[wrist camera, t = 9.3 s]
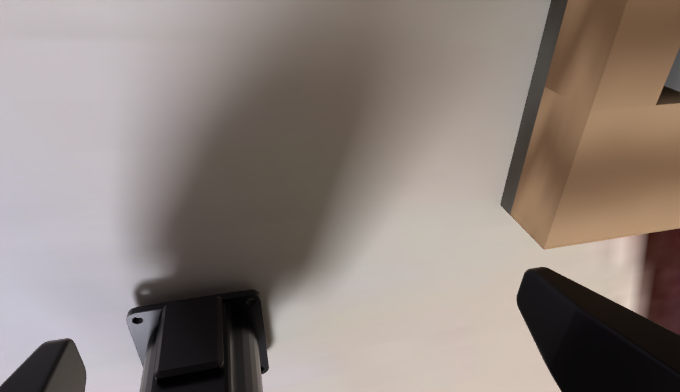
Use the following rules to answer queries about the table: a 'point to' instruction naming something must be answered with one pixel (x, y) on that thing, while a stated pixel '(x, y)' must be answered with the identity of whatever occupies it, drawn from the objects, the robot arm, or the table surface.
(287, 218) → the table surface
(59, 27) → the table surface
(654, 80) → the socket block
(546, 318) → the robot arm
